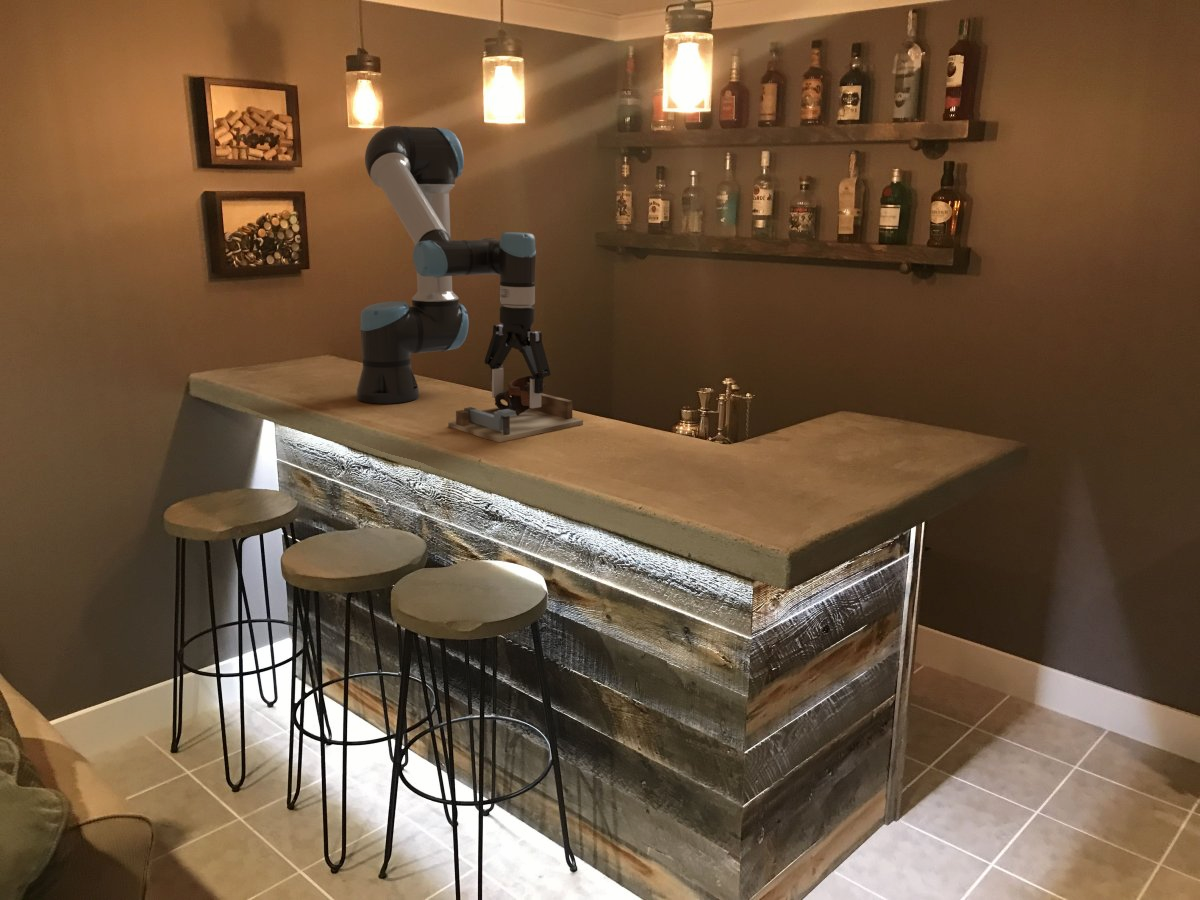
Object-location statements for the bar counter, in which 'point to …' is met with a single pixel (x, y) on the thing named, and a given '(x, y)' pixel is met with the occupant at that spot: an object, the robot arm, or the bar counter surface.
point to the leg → (489, 417)
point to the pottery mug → (516, 396)
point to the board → (523, 421)
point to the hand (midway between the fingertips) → (516, 402)
